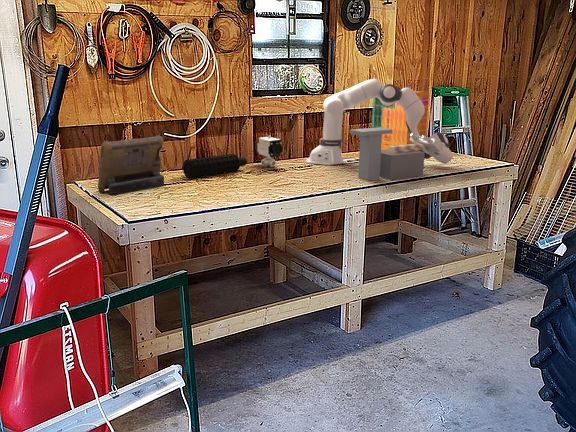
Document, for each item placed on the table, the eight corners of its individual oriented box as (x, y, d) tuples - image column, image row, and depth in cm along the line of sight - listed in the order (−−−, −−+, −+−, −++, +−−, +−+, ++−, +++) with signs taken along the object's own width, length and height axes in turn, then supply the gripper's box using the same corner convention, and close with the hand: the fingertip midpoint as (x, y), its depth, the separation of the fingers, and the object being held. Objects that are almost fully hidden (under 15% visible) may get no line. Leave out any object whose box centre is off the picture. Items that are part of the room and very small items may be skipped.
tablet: (151, 181, 291) (148, 132, 284) (169, 185, 283) (166, 135, 276) (95, 192, 267) (91, 139, 260) (113, 197, 258) (109, 142, 251)
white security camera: (254, 164, 336) (254, 134, 331) (266, 162, 341) (266, 133, 336) (270, 169, 322) (270, 138, 317) (283, 167, 327) (283, 137, 322)
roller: (239, 165, 326) (242, 149, 321) (248, 173, 320) (251, 157, 315) (180, 173, 302) (182, 156, 298) (189, 182, 296) (191, 165, 291)
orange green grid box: (370, 147, 399) (373, 89, 388) (389, 145, 409) (392, 89, 398) (405, 154, 372) (409, 92, 361) (424, 152, 382) (429, 91, 371)
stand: (377, 175, 310) (380, 127, 303) (389, 178, 302) (392, 129, 295) (347, 178, 301) (349, 129, 293) (359, 182, 292) (361, 131, 285)
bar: (419, 148, 317) (419, 143, 316) (424, 149, 314) (424, 144, 313) (388, 151, 306) (388, 146, 305) (393, 152, 303) (393, 147, 302)
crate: (403, 170, 323) (404, 147, 319) (422, 175, 310) (424, 152, 306) (371, 174, 312) (372, 150, 308) (390, 179, 299) (391, 155, 295)
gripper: (421, 139, 327) (406, 128, 320) (447, 144, 311) (432, 133, 303) (416, 149, 327) (401, 138, 320) (442, 154, 311) (427, 143, 303)
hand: (417, 135), depth 311 cm, fingers open, 8 cm apart
